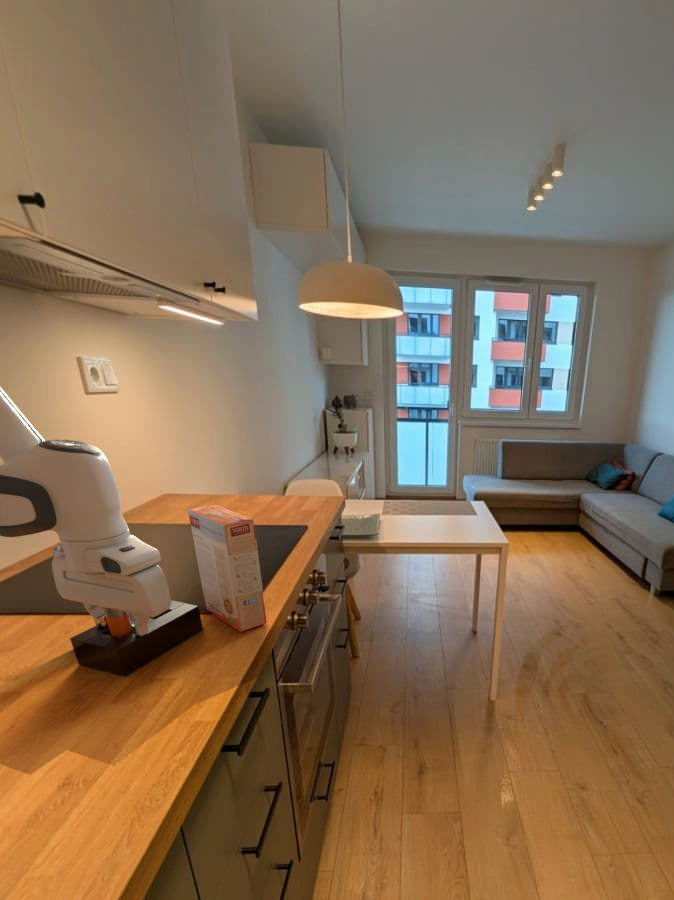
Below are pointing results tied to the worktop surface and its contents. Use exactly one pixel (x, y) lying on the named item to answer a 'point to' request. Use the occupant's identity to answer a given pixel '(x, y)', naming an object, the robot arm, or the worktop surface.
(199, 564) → the cracker box
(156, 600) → the robot arm
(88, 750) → the worktop surface
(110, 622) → the orange banded battery
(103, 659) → the holder
